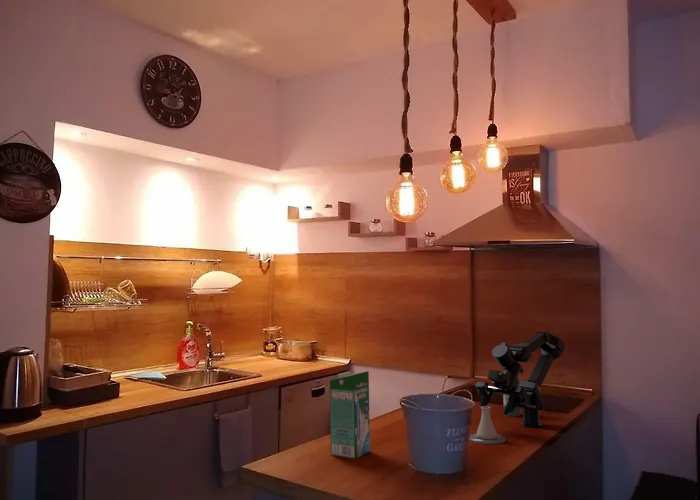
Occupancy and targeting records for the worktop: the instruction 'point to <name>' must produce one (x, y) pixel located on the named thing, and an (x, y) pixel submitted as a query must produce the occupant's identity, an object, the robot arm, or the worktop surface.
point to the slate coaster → (487, 440)
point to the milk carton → (350, 415)
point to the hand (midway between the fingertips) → (492, 412)
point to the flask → (486, 425)
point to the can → (515, 411)
